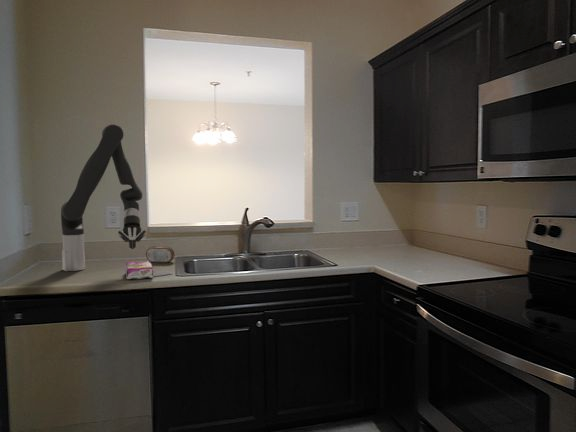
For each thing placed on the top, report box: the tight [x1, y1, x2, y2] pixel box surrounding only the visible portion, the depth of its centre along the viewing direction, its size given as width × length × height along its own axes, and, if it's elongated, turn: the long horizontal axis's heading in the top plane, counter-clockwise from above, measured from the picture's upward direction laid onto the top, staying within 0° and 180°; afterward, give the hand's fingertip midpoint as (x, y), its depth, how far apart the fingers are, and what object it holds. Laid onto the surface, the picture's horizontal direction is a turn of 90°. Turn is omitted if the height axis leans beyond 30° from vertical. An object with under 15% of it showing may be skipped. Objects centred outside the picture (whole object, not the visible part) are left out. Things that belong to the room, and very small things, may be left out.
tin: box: [145, 245, 175, 264], centre depth 222 cm, size 15×3×8 cm, turn 84°
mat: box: [134, 269, 173, 280], centre depth 191 cm, size 17×9×1 cm, turn 130°
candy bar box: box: [125, 260, 154, 280], centre depth 189 cm, size 11×5×16 cm
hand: (132, 247), depth 194 cm, fingers closed
